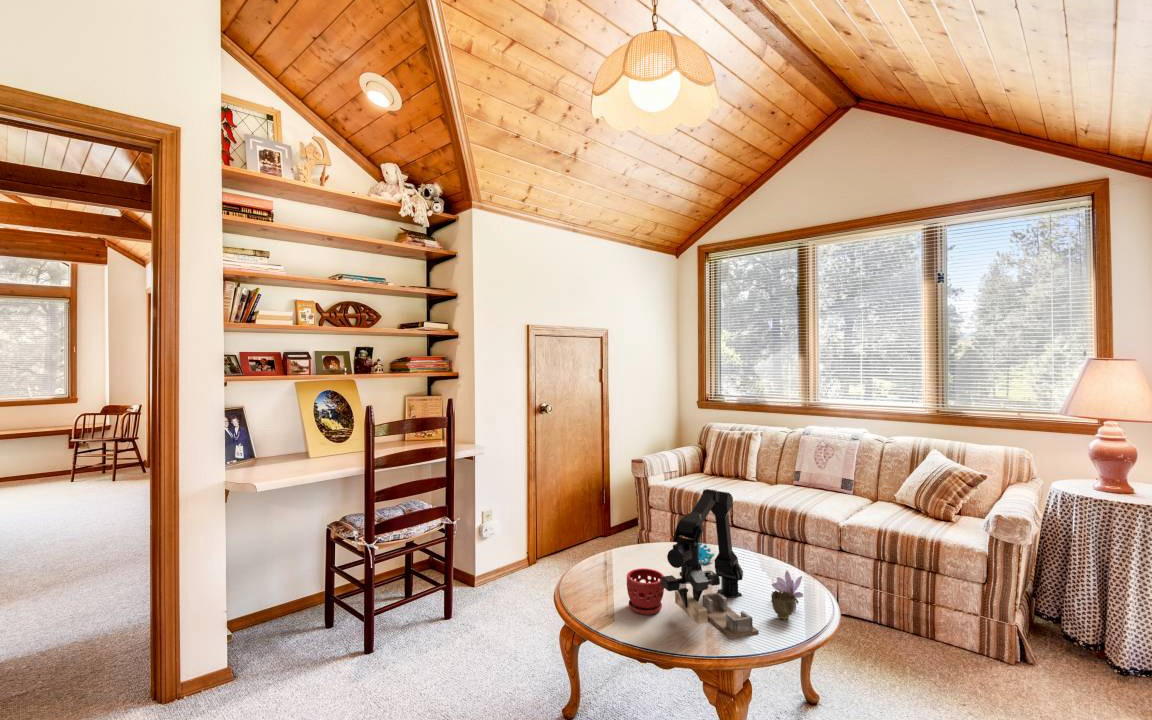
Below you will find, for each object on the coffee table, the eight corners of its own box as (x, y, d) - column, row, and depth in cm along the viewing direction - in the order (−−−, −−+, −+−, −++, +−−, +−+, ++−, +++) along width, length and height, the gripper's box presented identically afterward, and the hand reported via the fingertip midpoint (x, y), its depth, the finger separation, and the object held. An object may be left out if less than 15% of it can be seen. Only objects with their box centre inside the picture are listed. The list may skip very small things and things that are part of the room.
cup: (776, 611, 185) (775, 588, 186) (798, 617, 181) (797, 593, 181) (768, 619, 180) (767, 595, 180) (790, 626, 175) (790, 601, 175)
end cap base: (697, 609, 188) (697, 595, 188) (722, 605, 190) (722, 591, 190) (730, 638, 167) (730, 622, 167) (758, 633, 170) (758, 617, 170)
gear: (688, 561, 230) (689, 539, 237) (686, 567, 234) (687, 546, 241) (714, 566, 228) (714, 544, 235) (712, 572, 233) (712, 550, 240)
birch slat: (675, 602, 183) (675, 590, 183) (683, 601, 183) (683, 589, 183) (698, 624, 167) (698, 611, 167) (707, 622, 168) (707, 609, 168)
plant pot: (619, 610, 187) (619, 576, 188) (640, 598, 197) (640, 565, 198) (651, 621, 179) (651, 585, 179) (671, 608, 189) (671, 573, 189)
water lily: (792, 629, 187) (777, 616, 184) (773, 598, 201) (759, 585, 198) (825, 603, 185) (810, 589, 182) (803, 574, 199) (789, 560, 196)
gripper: (675, 570, 165) (675, 622, 165) (728, 564, 170) (729, 614, 170) (659, 558, 176) (660, 606, 176) (710, 552, 181) (711, 599, 181)
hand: (690, 607), depth 175 cm, fingers closed on birch slat, 3 cm apart
